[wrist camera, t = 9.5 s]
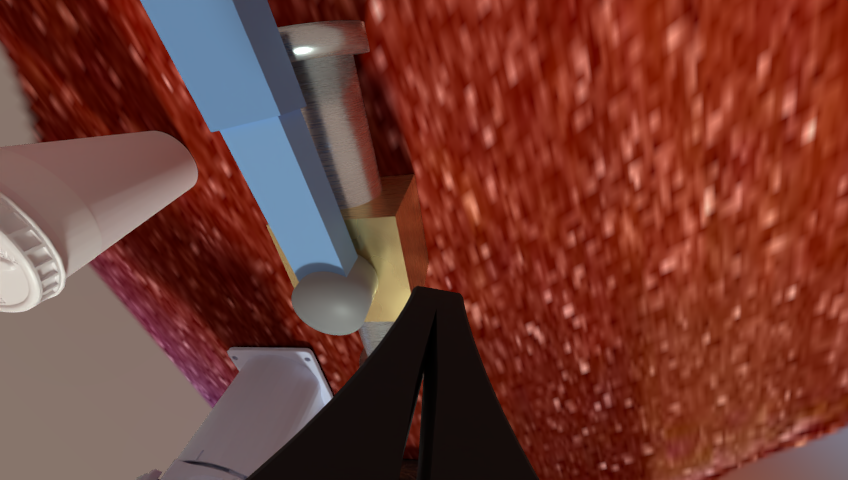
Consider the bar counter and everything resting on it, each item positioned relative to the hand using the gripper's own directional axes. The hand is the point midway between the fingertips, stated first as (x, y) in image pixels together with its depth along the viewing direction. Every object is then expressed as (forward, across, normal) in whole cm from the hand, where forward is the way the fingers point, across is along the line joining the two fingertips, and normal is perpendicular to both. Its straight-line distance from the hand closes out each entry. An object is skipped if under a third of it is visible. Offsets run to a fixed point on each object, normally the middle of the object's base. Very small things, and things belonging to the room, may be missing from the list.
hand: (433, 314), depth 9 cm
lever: (+5, +6, -1) cm, 8 cm away
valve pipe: (+10, +4, +3) cm, 11 cm away
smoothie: (+10, +17, +1) cm, 20 cm away
